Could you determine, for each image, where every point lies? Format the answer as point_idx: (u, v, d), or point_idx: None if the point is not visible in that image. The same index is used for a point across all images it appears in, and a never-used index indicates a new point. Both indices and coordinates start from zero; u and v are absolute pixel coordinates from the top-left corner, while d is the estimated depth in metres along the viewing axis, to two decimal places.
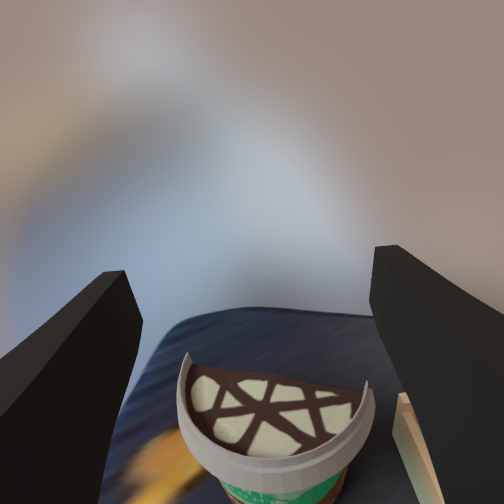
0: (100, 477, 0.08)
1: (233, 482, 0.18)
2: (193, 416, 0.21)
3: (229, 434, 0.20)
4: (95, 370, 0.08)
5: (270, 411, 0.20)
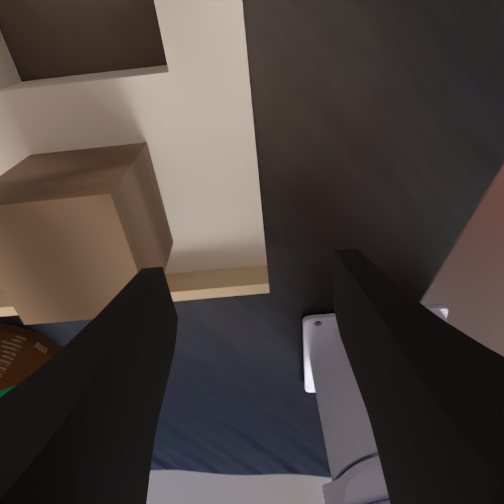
0: (147, 474, 0.08)
1: None
2: None
3: None
4: (142, 366, 0.08)
5: None
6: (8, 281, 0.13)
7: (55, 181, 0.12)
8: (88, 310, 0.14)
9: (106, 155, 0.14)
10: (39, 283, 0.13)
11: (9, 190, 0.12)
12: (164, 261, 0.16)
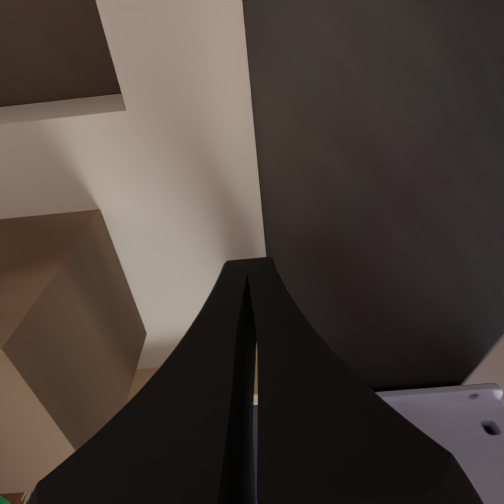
0: (253, 466, 0.08)
1: None
2: None
3: None
4: (246, 358, 0.08)
5: None
6: None
7: None
8: None
9: (33, 236, 0.09)
10: None
11: None
12: (128, 376, 0.11)
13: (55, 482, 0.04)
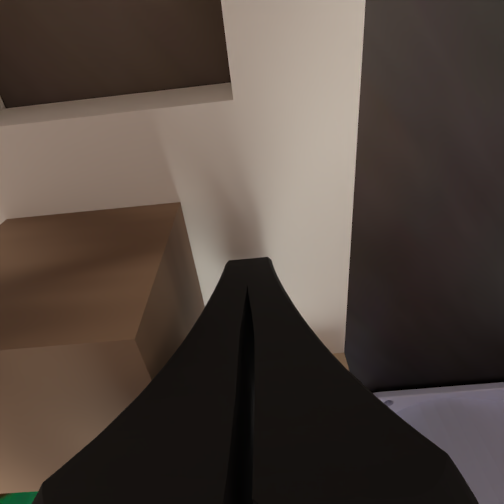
0: None
1: None
2: None
3: None
4: (249, 358, 0.08)
5: None
6: None
7: (38, 290, 0.07)
8: None
9: (120, 228, 0.09)
10: (13, 450, 0.08)
11: None
12: None
13: (61, 482, 0.04)
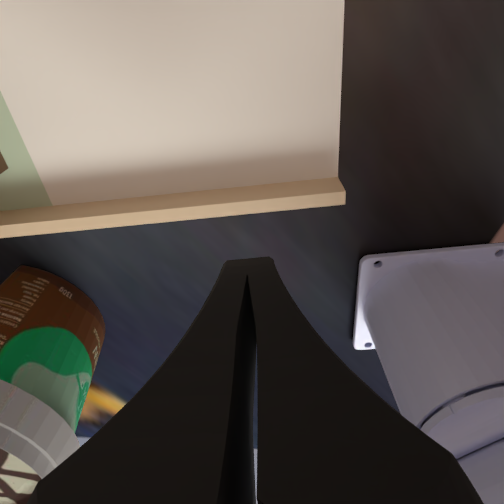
0: (253, 466, 0.08)
1: None
2: None
3: (30, 485, 0.18)
4: (246, 358, 0.08)
5: None
6: None
7: None
8: None
9: None
10: None
11: None
12: None
13: (55, 483, 0.04)
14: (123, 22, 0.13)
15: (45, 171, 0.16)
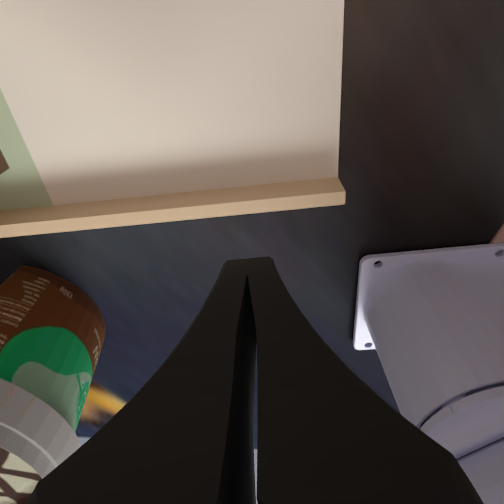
0: (253, 466, 0.08)
1: None
2: None
3: (30, 484, 0.18)
4: (246, 358, 0.08)
5: None
6: None
7: None
8: None
9: None
10: None
11: None
12: None
13: (55, 482, 0.04)
14: (124, 22, 0.13)
15: (46, 171, 0.16)
